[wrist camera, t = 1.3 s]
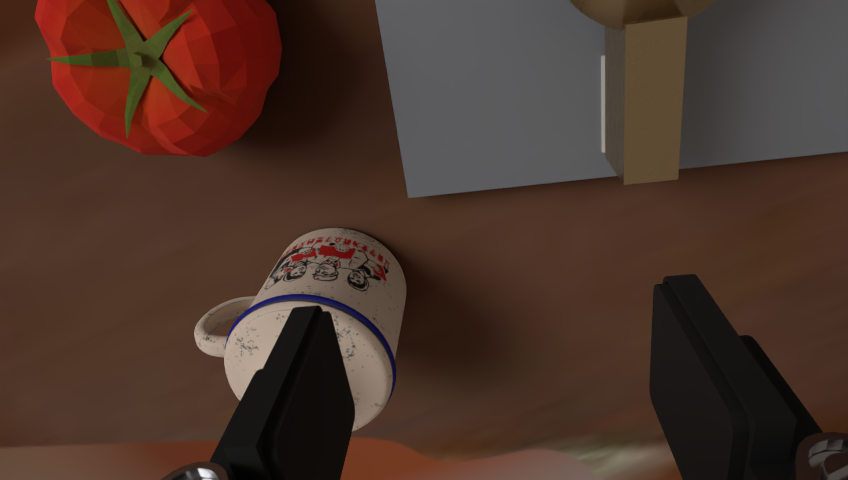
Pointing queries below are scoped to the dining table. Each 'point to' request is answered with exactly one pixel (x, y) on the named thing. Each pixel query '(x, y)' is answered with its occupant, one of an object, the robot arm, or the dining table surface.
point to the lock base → (601, 88)
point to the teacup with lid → (335, 292)
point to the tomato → (163, 68)
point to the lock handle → (643, 83)
